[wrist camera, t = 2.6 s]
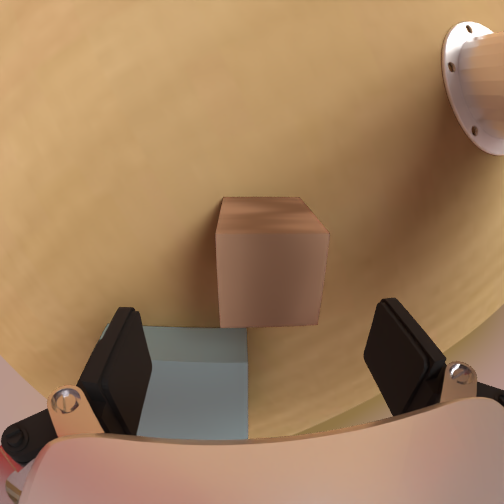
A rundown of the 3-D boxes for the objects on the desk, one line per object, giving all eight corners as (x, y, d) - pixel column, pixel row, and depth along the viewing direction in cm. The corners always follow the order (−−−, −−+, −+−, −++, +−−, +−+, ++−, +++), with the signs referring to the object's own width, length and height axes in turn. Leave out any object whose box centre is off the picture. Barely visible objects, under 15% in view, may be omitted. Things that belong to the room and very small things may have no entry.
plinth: (246, 327, 23) (247, 362, 19) (246, 412, 28) (248, 442, 24) (108, 323, 23) (91, 353, 19) (139, 406, 27) (131, 434, 24)
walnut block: (299, 197, 19) (329, 233, 13) (295, 265, 21) (317, 324, 15) (223, 197, 19) (215, 234, 12) (225, 266, 21) (220, 327, 14)
